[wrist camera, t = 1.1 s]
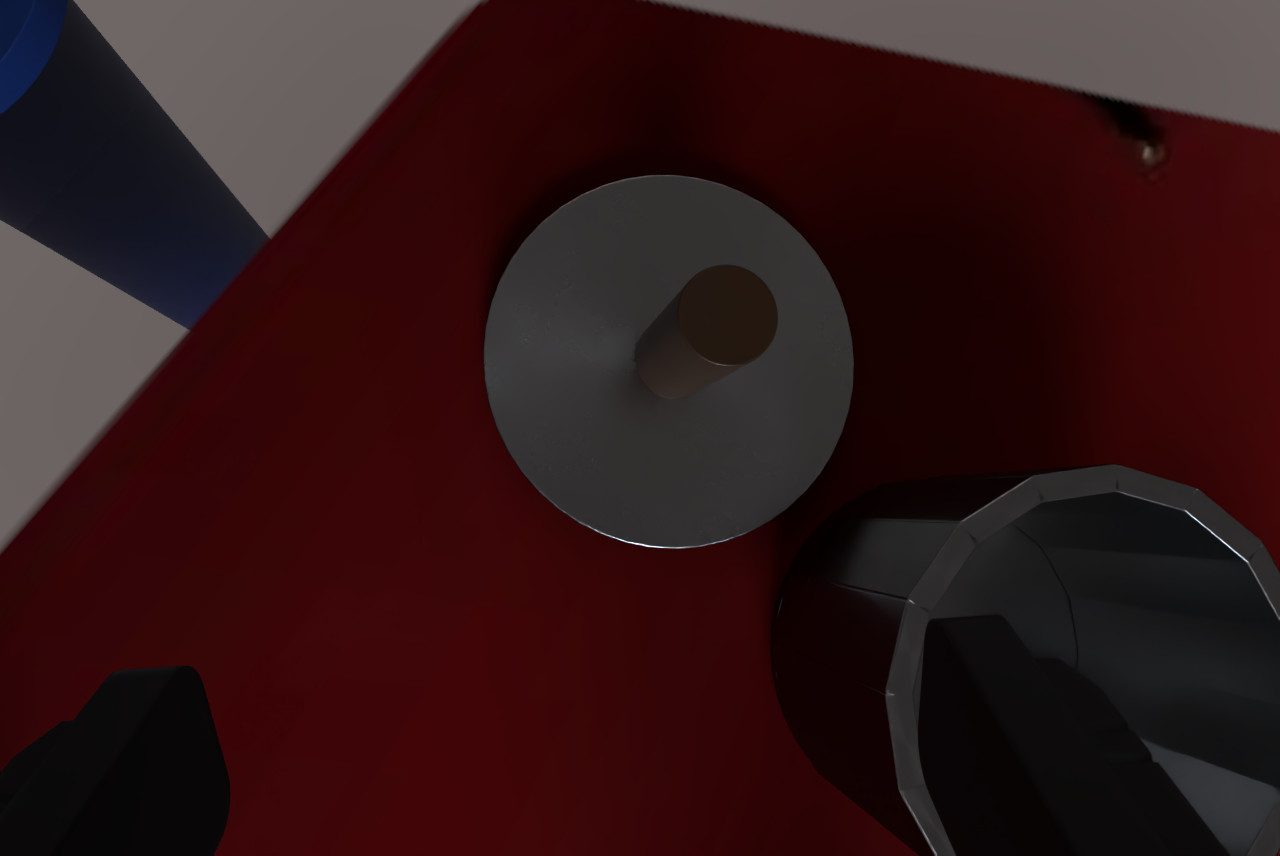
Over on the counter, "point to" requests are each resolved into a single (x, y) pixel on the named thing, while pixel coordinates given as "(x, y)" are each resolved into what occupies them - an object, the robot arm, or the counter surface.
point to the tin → (1040, 630)
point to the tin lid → (668, 361)
